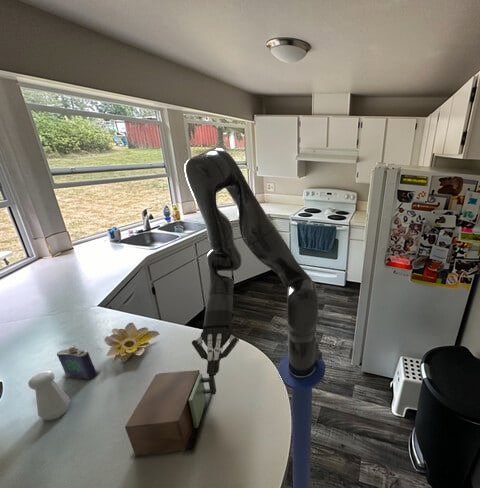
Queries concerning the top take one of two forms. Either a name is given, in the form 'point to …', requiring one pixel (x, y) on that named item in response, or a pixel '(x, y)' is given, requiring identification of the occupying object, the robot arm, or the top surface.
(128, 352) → the decorative flower
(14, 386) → the top surface
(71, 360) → the flask
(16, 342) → the top surface
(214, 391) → the sliding door
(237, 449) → the top surface
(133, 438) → the cabinet
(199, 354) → the robot arm
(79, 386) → the top surface
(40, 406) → the salt shaker
